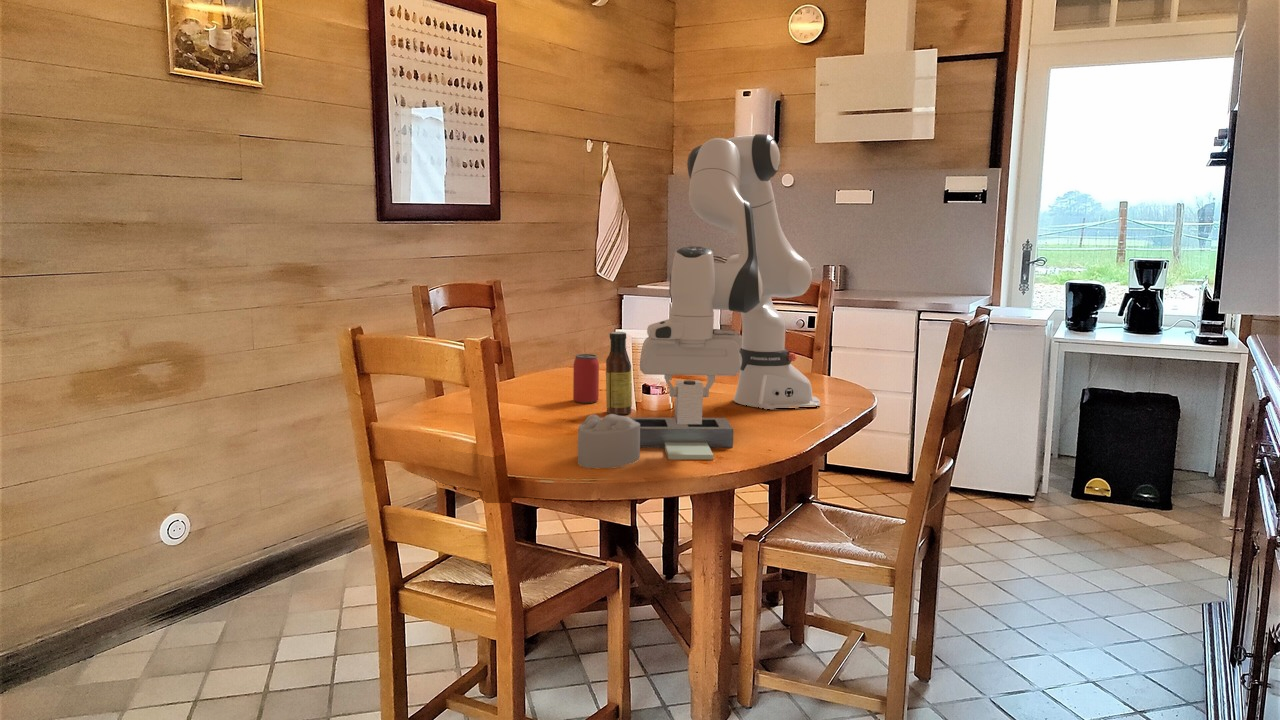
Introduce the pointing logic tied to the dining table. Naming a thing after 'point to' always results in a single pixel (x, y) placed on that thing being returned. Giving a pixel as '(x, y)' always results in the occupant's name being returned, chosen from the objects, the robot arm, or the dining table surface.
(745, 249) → the robot arm
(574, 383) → the beer can
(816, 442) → the dining table surface
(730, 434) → the rail
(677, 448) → the pad
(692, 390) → the grey square post
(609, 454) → the lumpy-topped squat cylinder
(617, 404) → the sauce bottle
